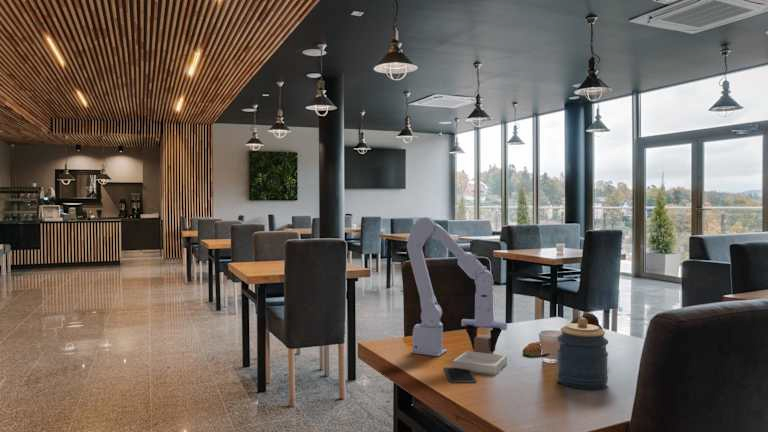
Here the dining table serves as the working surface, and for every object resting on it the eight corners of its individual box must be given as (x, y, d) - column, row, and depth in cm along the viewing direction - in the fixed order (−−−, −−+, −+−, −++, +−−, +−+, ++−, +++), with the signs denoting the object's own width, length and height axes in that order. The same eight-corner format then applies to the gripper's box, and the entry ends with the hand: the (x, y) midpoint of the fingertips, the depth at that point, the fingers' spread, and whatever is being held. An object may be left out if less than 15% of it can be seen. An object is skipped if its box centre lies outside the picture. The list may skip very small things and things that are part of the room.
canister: (602, 394, 140) (603, 324, 140) (551, 385, 147) (551, 319, 147) (611, 380, 151) (612, 316, 151) (563, 373, 158) (564, 311, 158)
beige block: (473, 356, 175) (474, 337, 175) (479, 352, 181) (479, 334, 181) (487, 358, 173) (487, 339, 173) (493, 354, 179) (493, 335, 178)
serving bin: (453, 368, 161) (453, 360, 161) (467, 358, 172) (467, 350, 172) (495, 375, 155) (495, 366, 155) (506, 364, 167) (506, 355, 167)
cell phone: (468, 369, 162) (468, 367, 162) (477, 384, 148) (477, 381, 148) (443, 369, 162) (443, 367, 162) (450, 384, 148) (450, 381, 148)
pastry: (534, 359, 173) (534, 347, 173) (516, 355, 178) (516, 343, 178) (551, 354, 179) (551, 342, 179) (533, 350, 184) (533, 339, 184)
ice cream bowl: (605, 358, 173) (605, 311, 173) (603, 368, 163) (603, 317, 163) (569, 355, 178) (570, 308, 177) (565, 363, 167) (565, 314, 167)
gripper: (458, 307, 177) (458, 350, 177) (502, 311, 170) (502, 355, 170) (465, 304, 183) (465, 345, 183) (508, 308, 176) (508, 350, 176)
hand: (483, 350), depth 177 cm, fingers open, 5 cm apart
